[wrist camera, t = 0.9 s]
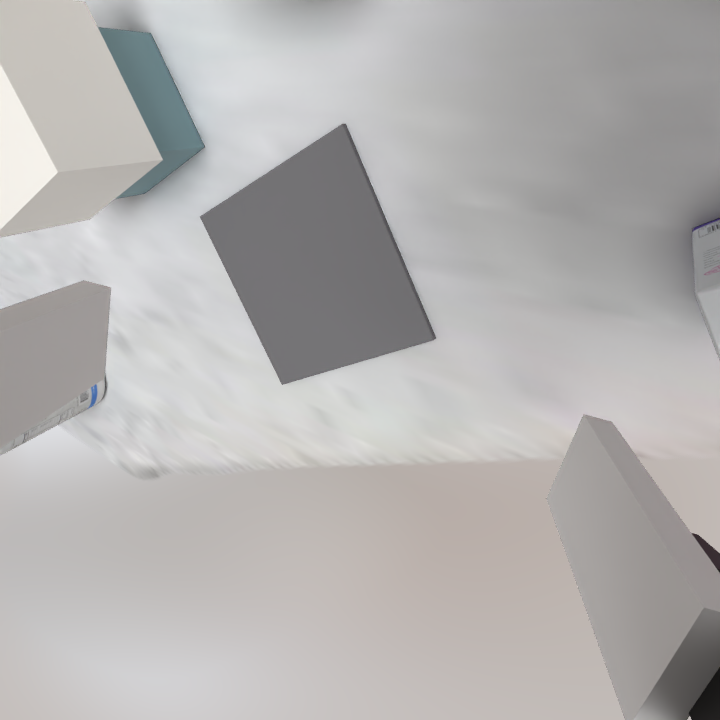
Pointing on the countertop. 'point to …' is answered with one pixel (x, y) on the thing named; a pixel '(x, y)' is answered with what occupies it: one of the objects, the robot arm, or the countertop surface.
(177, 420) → the countertop surface
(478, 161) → the countertop surface
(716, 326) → the supplement box
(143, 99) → the base
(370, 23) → the countertop surface
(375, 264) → the mat
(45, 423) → the supplement tub
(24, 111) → the lid
